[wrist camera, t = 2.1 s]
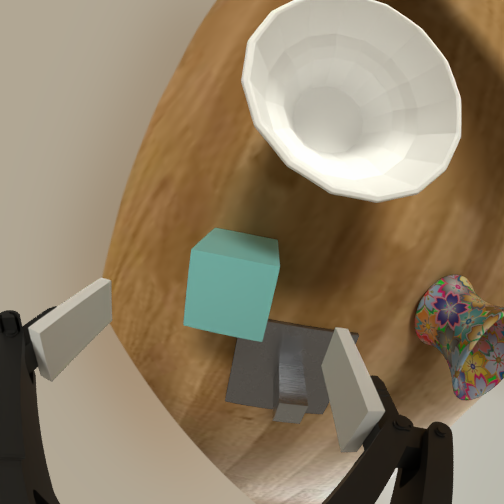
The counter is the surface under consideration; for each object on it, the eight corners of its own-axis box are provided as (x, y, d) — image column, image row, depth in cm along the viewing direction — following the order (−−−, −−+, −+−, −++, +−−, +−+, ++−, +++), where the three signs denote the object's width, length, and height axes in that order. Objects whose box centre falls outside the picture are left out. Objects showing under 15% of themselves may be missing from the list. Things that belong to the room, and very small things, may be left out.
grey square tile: (242, 314, 27) (233, 352, 20) (357, 333, 26) (376, 371, 20) (225, 398, 30) (216, 438, 24) (322, 411, 30) (328, 451, 23)
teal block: (215, 227, 25) (191, 249, 17) (277, 239, 25) (280, 266, 17) (206, 285, 26) (183, 325, 19) (265, 297, 26) (262, 341, 19)
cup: (224, 125, 22) (188, 87, 12) (315, 36, 19) (338, -35, 9) (332, 220, 24) (377, 254, 13) (415, 126, 21) (490, 107, 10)
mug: (393, 335, 26) (434, 399, 16) (432, 256, 24) (497, 297, 14) (459, 351, 27) (499, 401, 16) (493, 287, 24) (546, 324, 14)
